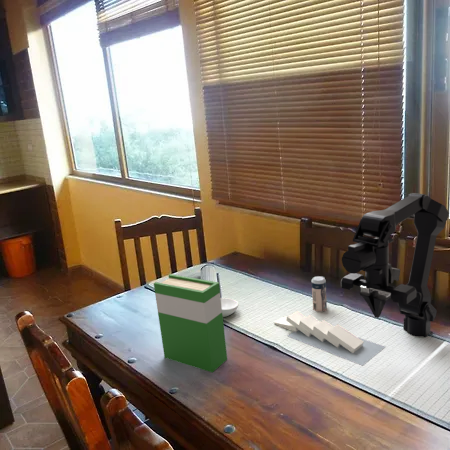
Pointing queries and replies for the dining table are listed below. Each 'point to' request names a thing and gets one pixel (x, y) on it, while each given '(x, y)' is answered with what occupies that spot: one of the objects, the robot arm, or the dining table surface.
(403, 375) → the dining table surface
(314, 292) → the spice jar
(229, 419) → the dining table surface
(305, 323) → the domino
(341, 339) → the domino
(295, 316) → the domino
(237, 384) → the dining table surface
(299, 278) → the dining table surface
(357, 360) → the domino board
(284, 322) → the domino
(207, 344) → the hardback book
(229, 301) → the spoon rest
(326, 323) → the domino
